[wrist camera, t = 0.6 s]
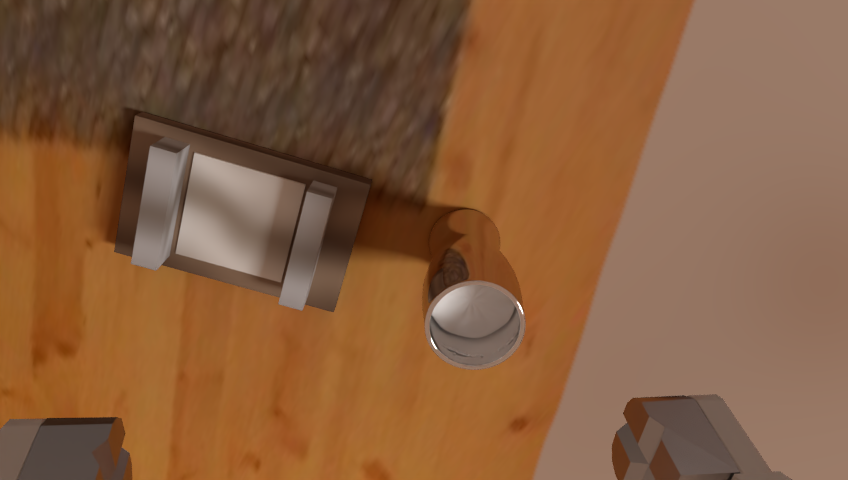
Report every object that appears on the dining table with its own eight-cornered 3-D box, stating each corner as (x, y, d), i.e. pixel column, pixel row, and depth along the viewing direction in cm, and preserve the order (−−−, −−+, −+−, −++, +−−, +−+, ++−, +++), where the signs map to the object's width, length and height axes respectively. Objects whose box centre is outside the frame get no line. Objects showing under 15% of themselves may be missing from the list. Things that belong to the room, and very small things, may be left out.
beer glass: (444, 291, 60) (447, 387, 46) (410, 223, 58) (403, 302, 44) (517, 260, 59) (544, 349, 45) (486, 190, 56) (503, 261, 42)
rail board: (142, 111, 54) (118, 123, 50) (372, 179, 56) (367, 196, 52) (121, 245, 59) (98, 266, 54) (336, 304, 60) (328, 329, 56)
